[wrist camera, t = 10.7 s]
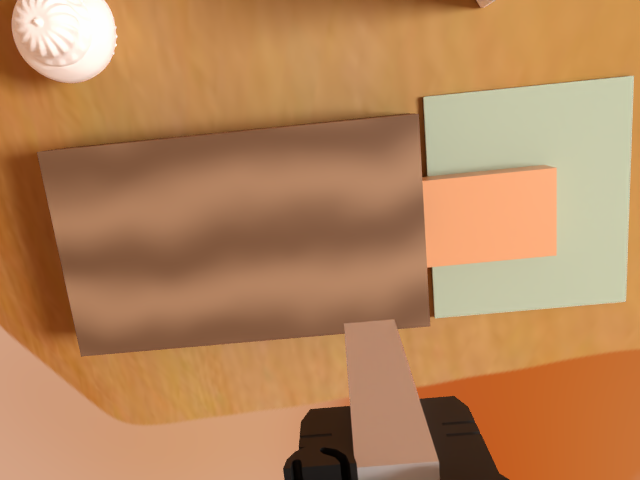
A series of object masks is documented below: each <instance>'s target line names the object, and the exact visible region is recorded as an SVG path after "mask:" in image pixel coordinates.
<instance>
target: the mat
mask: <svg viewBox="0 0 640 480" xmlns="http://www.w3.org/2000/svg"><path fill="white" fill-rule="evenodd" d="M633 86H634V76H626V77H616V78H606V79H597V80H587V81H577V82H567V83H557V84H547V85H537V86H527V87H517V88H508V89H498V90H488V91H478V92H468V93H458V94H448V95H438V96H428V97H423V110H424V129H425V148H426V167H427V176H437V175H447V174H457V173H468V172H478V171H488V170H498V169H508V168H518V167H528V166H538V165H547V166H551V167H555V168H557V256H546V257H535V258H525V259H514V260H503V261H492V262H482V263H471V264H460V265H449V266H439V267H432V282H433V302H434V317H435V318H444V317H455V316H467V315H478V314H490V313H501V312H513V311H524V310H536V309H547V308H559V307H570V306H582V305H593V304H605V303H616V302H626V285H627V256H628V228H629V199H630V171H631V143H632V114H633Z"/></svg>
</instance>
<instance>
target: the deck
mask: <svg viewBox="0 0 640 480" xmlns="http://www.w3.org/2000/svg"><path fill="white" fill-rule="evenodd" d="M37 155H38V160H39V165H40V169H41V174H42V178H43V183H44V187H45V192H46V197H47V201H48V206H49V210H50V215H51V220H52V224H53V229H54V233H55V238H56V243H57V247H58V252H59V256H60V261H61V266H62V270H63V275H64V279H65V284H66V289H67V293H68V298H69V302H70V307H71V312H72V316H73V321H74V325H75V330H76V335H77V339H78V344H79V348H80V353H81V356H91V355H103V354H115V353H126V352H138V351H149V350H161V349H172V348H184V347H196V346H207V345H219V344H230V343H242V342H253V341H265V340H276V339H288V338H300V337H311V336H323V335H334V334H345V331H344V324H345V323H357V322H368V321H380V320H391V319H394V320H395V323H396V326H397V329H404V328H415V327H427V326H430V313H429V294H428V276H427V257H426V239H425V220H424V202H423V183H422V165H421V147H420V128H419V114H400V115H390V116H380V117H370V118H360V119H350V120H340V121H330V122H320V123H310V124H300V125H290V126H280V127H270V128H260V129H250V130H240V131H230V132H220V133H210V134H200V135H190V136H180V137H170V138H160V139H150V140H140V141H130V142H120V143H110V144H100V145H90V146H80V147H70V148H62V149H55V150H48V151H41V152H37Z"/></svg>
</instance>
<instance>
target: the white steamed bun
mask: <svg viewBox="0 0 640 480" xmlns="http://www.w3.org/2000/svg"><path fill="white" fill-rule="evenodd" d="M116 28H117V27H116V26H115V22H114V18H113V15H112V12H111V10H110V8H109V6H108V4H107V3H106V2H105V0H17V2H16V5H15V7H14V11H13V15H12V33H13V38H14V41H15V44H16V46H17V48H18V51H19V52H20V54H21V56H22V57H23V58H24V60H25V61H26V62H27V63H28V64H29V65H30V66H31V67H32V68H33V69H34V70H36V71H37V72H39V73H40V74H42V75H44V76H45V77H48V78H50V79H52V80H55V81H58V82H63V83H79V82H83V81H86V80H89V79H91V78H93V77H95V76H96V75H98V74H99V73H100V72H102V71H103V70H104V69H105V68H106V66H107V65H108V63H109V62H111V58H112V55H114V49H115V47H116V46H117V44H116V38H117V37H118V36H117V35H116Z"/></svg>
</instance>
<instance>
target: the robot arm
mask: <svg viewBox="0 0 640 480" xmlns="http://www.w3.org/2000/svg"><path fill="white" fill-rule="evenodd" d="M344 331H345V344H346V358H347V371H348V384H349V397H350V406H344V407H332V408H320V409H310V410H309V412H308V413H307V415H306V416H305V417H304V419H303V420H302V421H301V429H300V440H299V450H298V451H296V452H295V453H293V454H292V455H291V456H290V457H289V458H288V459H287V461H286V463H285V466H284V468H283V470H284V478H285V480H509V479H507V478H505V477H504V476H502V475H501V474H499V472H498V470H497V468H496V465H495V463H494V461H493V459H492V457H491V455H490V453H489V451H488V448H487V446H486V444H485V442H484V440H483V438H482V436H481V434H480V432H479V429H478V427H477V425H476V423H475V421H474V418H473V416H472V414H471V412H470V410H469V408H468V406H466V405H465V404H464V403H462V402H461V401H460V400H458V399H457V398H456V397H455V396H450V397H438V398H425V399H419V396H418V393H417V390H416V387H415V384H414V380H413V377H412V374H411V371H410V368H409V365H408V361H407V358H406V355H405V352H404V349H403V345H402V342H401V339H400V336H399V333H398V329H397V326H396V323H395V320H394V319H391V320H380V321H368V322H357V323H345V324H344Z"/></svg>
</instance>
